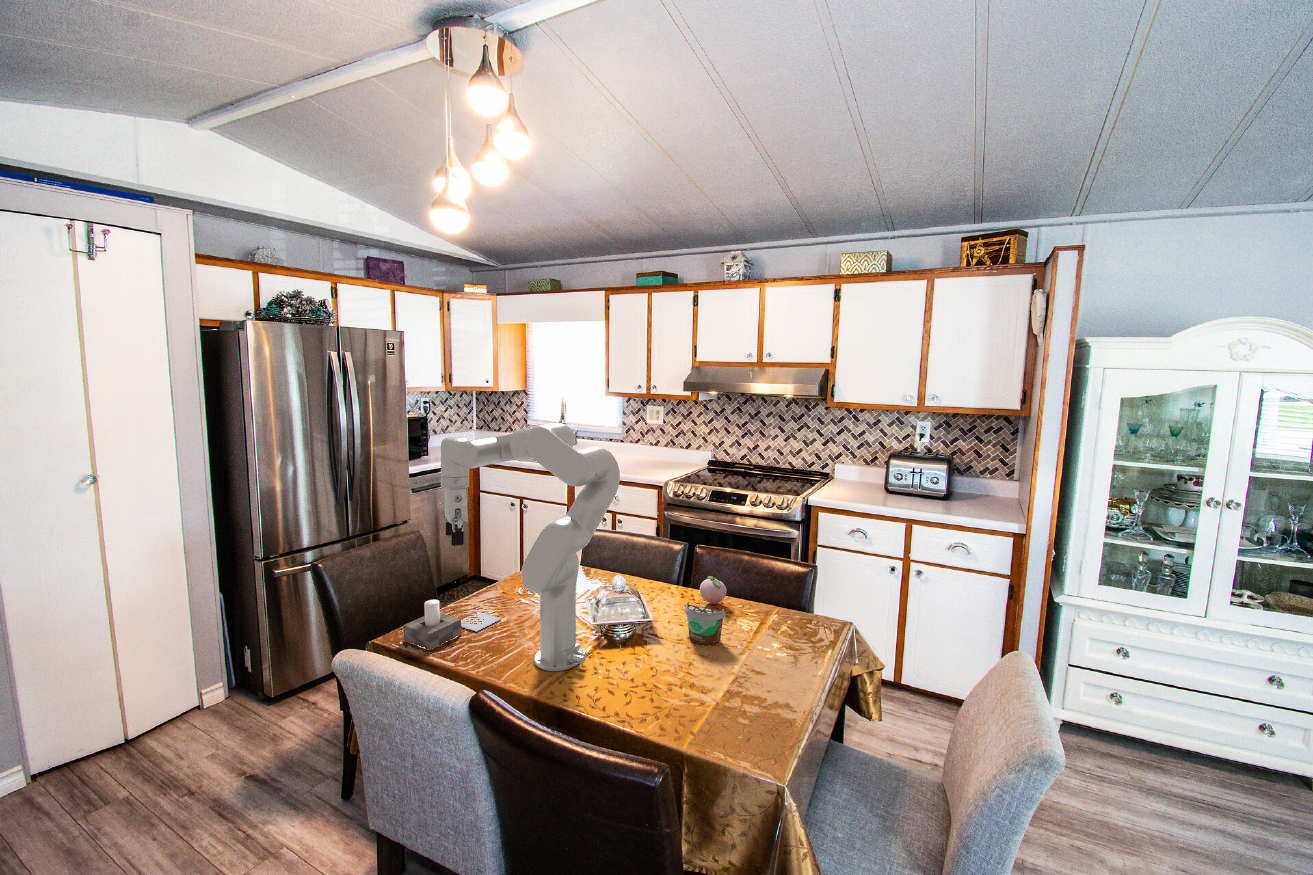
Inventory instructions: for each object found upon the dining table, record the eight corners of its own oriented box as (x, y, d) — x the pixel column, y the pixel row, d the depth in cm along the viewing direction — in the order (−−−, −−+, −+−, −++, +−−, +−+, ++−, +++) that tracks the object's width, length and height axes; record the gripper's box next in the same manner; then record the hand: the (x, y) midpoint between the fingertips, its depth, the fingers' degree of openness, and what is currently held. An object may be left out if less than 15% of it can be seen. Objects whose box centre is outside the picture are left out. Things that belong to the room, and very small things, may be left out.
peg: (443, 637, 162) (442, 601, 160) (431, 643, 158) (430, 606, 157) (434, 634, 164) (433, 598, 162) (422, 639, 160) (421, 603, 159)
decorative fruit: (694, 602, 189) (694, 573, 188) (714, 597, 193) (714, 570, 192) (709, 612, 181) (710, 582, 180) (730, 607, 185) (730, 578, 184)
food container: (677, 641, 161) (677, 608, 160) (686, 633, 166) (686, 601, 165) (717, 651, 155) (717, 617, 154) (724, 642, 160) (725, 609, 159)
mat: (501, 620, 173) (501, 618, 173) (476, 632, 165) (476, 630, 165) (478, 613, 178) (478, 611, 178) (453, 625, 170) (453, 623, 170)
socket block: (461, 635, 163) (460, 619, 162) (429, 651, 153) (429, 634, 153) (436, 627, 168) (435, 611, 168) (404, 641, 159) (403, 625, 158)
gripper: (475, 487, 151) (474, 547, 153) (463, 474, 165) (462, 530, 168) (445, 488, 147) (445, 550, 149) (436, 475, 162) (435, 532, 164)
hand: (454, 539), depth 158 cm, fingers open, 9 cm apart
